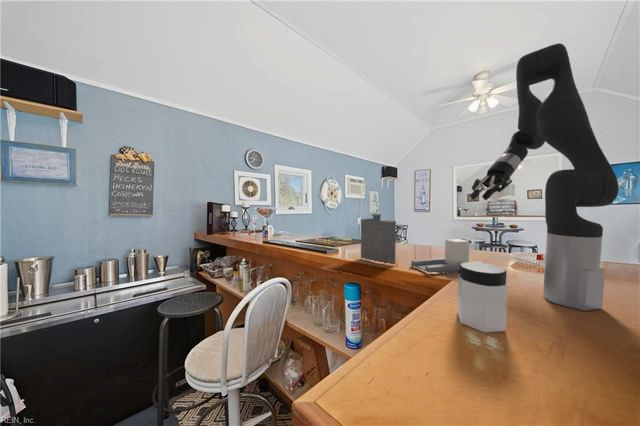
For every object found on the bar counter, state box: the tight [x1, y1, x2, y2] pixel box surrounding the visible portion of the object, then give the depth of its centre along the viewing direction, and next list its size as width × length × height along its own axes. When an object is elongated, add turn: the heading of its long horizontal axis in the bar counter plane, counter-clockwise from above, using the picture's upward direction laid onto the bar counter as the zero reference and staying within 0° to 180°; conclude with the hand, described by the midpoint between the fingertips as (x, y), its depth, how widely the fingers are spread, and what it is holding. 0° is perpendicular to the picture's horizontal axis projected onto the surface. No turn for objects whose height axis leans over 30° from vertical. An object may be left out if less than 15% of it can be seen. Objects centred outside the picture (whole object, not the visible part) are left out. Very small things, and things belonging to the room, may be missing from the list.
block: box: [444, 238, 470, 264], centre depth 87 cm, size 5×6×9 cm
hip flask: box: [360, 213, 397, 265], centre depth 94 cm, size 16×4×20 cm, turn 42°
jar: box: [456, 261, 509, 333], centre depth 49 cm, size 9×8×12 cm
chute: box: [410, 257, 486, 274], centre depth 86 cm, size 10×24×2 cm, turn 103°
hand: (478, 198), depth 89 cm, fingers open, 4 cm apart
